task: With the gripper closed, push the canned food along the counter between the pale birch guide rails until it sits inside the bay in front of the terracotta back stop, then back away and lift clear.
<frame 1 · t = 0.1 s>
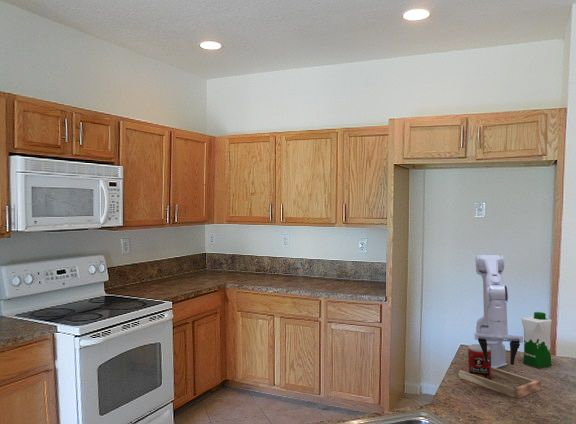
hand: (499, 363, 149), 11 cm above the counter, tool pointing down, fingers open, 7 cm apart
canned food: (479, 377, 166), on the counter
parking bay: (497, 383, 160), on the counter
milk carton: (537, 365, 178), on the counter
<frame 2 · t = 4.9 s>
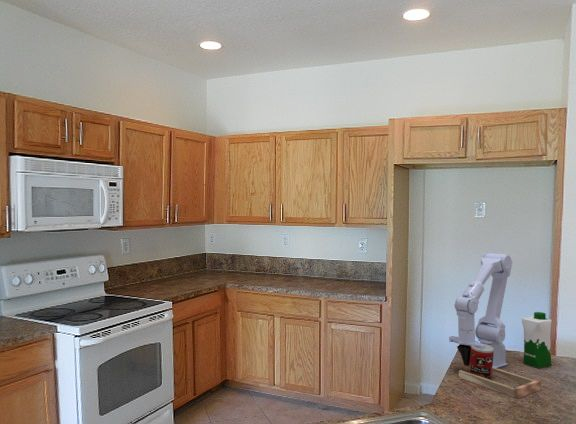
hand: (467, 365, 171), 3 cm above the counter, tool pointing down, fingers closed
canned food: (479, 376, 166), on the counter, touching gripper
everything else where it was.
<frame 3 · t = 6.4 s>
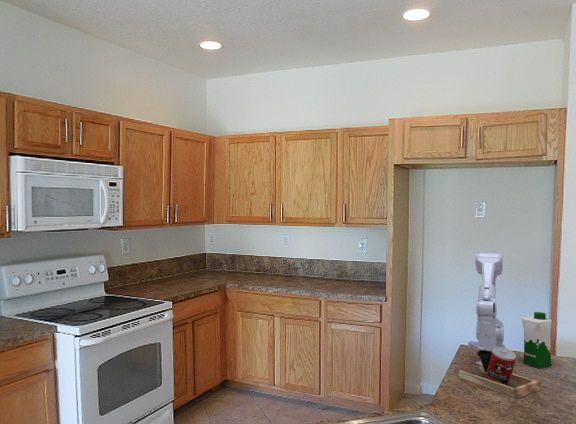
hand: (487, 371, 163), 3 cm above the counter, tool pointing down, fingers closed
canned food: (497, 380, 160), point 1 cm above the counter, touching gripper
everything else where it was.
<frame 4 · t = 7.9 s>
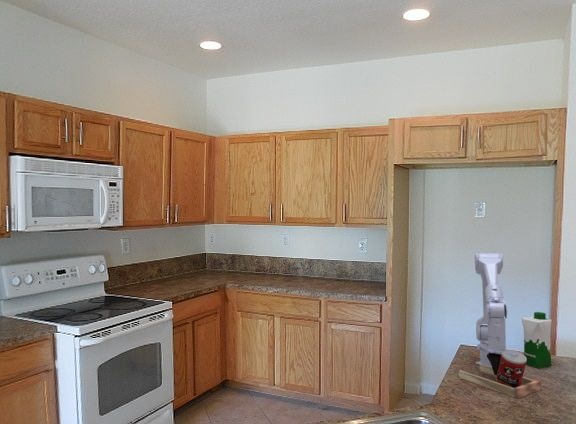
hand: (497, 374, 160), 3 cm above the counter, tool pointing down, fingers closed
canned food: (507, 384, 157), point 1 cm above the counter, touching gripper
everything else where it was.
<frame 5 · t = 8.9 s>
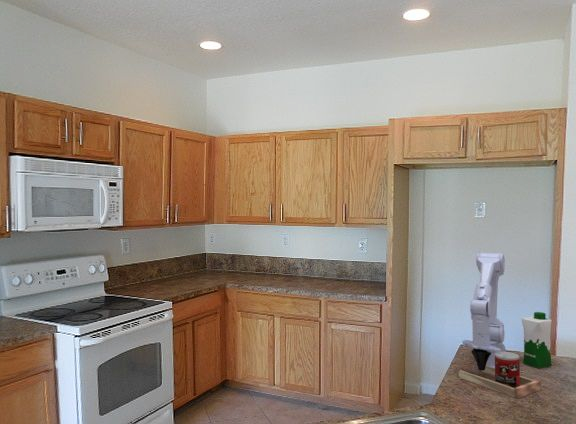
hand: (481, 369, 166), 3 cm above the counter, tool pointing down, fingers closed
canned food: (507, 387, 157), on the counter
everything else where it was.
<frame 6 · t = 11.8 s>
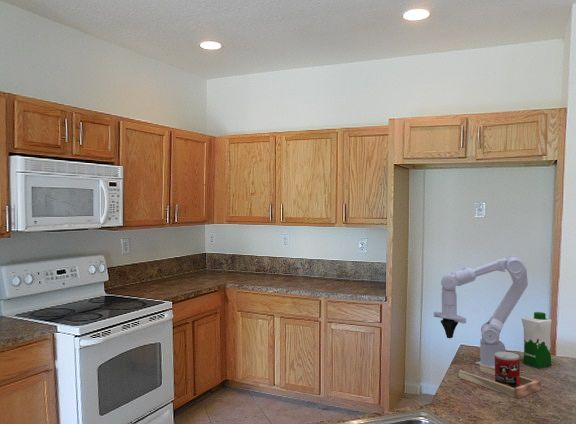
hand: (449, 337, 185), 9 cm above the counter, tool pointing down, fingers closed
nothing on the counter moved.
at the end: canned food inside the target area (2.4 cm from its centre), on the counter; canned food tilted 0°; canned food moved 10.9 cm from its start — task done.
